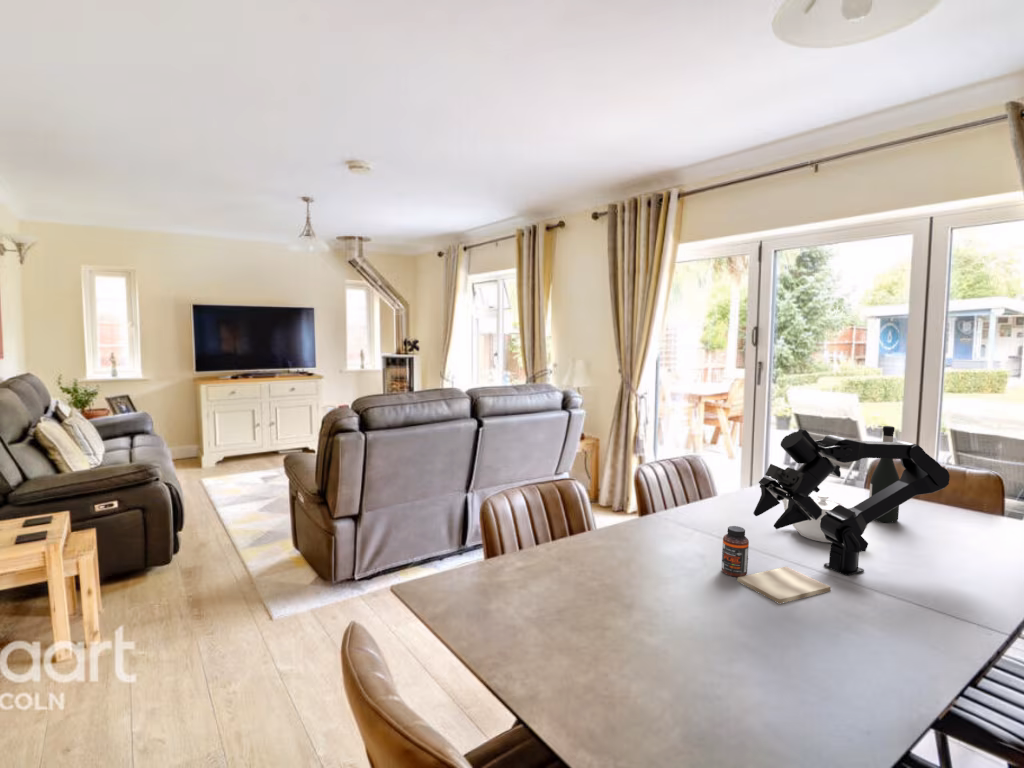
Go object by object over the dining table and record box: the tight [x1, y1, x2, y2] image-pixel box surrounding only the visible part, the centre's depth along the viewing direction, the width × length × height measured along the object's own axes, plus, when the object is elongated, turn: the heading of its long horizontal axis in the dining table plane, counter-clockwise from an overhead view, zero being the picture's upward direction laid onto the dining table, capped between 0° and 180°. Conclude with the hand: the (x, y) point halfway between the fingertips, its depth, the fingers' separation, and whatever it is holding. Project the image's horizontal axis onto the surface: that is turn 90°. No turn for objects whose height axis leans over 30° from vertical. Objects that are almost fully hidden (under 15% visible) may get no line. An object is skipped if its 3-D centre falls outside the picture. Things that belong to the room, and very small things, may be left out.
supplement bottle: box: [721, 525, 750, 578], centre depth 136 cm, size 6×6×11 cm
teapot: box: [781, 494, 869, 543], centre depth 161 cm, size 25×16×12 cm, turn 40°
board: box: [737, 566, 832, 605], centre depth 129 cm, size 16×12×1 cm
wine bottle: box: [868, 425, 900, 524], centre depth 175 cm, size 8×8×30 cm
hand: (764, 521), depth 136 cm, fingers open, 9 cm apart
